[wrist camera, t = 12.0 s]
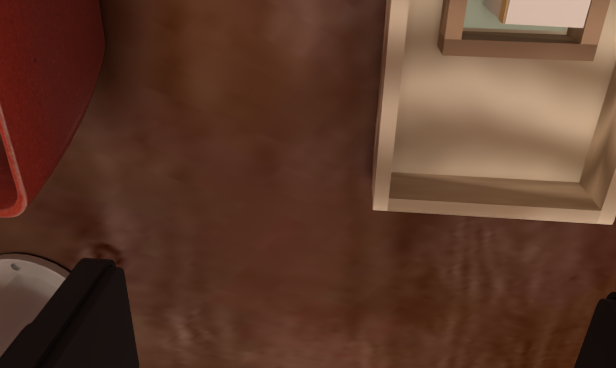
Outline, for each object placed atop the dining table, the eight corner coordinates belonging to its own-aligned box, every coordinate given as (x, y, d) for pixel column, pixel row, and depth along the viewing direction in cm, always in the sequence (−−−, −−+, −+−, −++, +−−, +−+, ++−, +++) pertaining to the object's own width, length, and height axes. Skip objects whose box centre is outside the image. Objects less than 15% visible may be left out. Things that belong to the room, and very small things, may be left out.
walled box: (584, 188, 39) (612, 224, 35) (371, 176, 40) (372, 209, 36) (679, -118, 30) (733, -121, 25) (396, -122, 31) (402, -126, 27)
